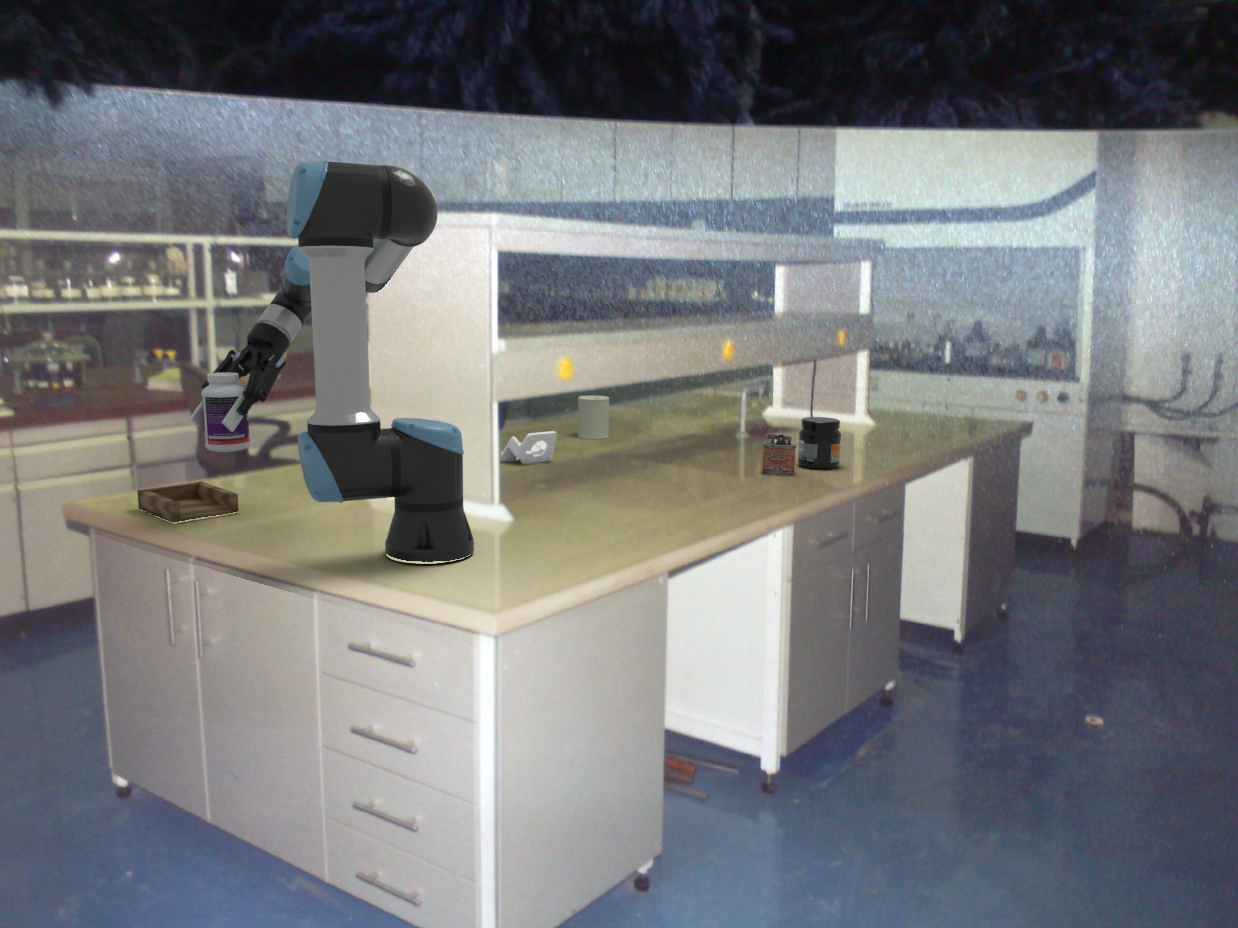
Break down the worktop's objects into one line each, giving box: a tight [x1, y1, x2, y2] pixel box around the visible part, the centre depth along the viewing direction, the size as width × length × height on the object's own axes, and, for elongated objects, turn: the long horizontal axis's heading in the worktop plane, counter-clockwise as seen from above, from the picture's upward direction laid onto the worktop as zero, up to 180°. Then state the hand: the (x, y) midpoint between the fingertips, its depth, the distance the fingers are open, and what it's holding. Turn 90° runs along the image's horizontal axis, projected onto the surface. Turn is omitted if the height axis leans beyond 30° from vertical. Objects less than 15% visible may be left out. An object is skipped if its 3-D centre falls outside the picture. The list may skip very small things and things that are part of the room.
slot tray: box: [137, 481, 240, 523], centre depth 206 cm, size 16×13×4 cm
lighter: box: [761, 433, 797, 477], centre depth 252 cm, size 8×3×10 cm, turn 74°
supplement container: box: [797, 416, 842, 471], centre depth 263 cm, size 10×10×12 cm
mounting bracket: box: [500, 430, 559, 465], centre depth 263 cm, size 12×6×11 cm, turn 125°
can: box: [577, 395, 610, 440], centre depth 302 cm, size 9×9×12 cm
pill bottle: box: [200, 372, 251, 453], centre depth 197 cm, size 8×8×14 cm
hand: (211, 424), depth 194 cm, fingers closed on pill bottle, 8 cm apart
